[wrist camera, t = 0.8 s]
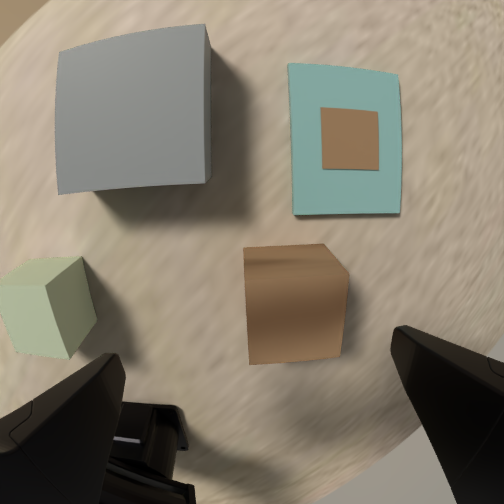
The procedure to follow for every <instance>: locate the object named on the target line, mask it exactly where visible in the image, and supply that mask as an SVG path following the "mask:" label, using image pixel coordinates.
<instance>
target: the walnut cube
mask: <svg viewBox="0 0 504 504" xmlns="http://www.w3.org/2000/svg"><path fill="white" fill-rule="evenodd" d="M243 252H244V277H245V296H246V315H247V333H248V350H249V365H257V364H273V363H286V362H297V361H308V360H317V359H326V358H334V357H340V352H341V345H342V338H343V330H344V322H345V313H346V304H347V294H348V283H349V273H348V272H347V271H346V269H345V268H344V267H343V266H342V265H341V263H340V262H339V261H338V260H337V259H336V258H335V256H334V255H333V254H332V253H331V252H330V251H329V249H328V248H327V247H326V246H325V245H324V244H309V245H288V246H267V247H247V248H243Z"/></svg>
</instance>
